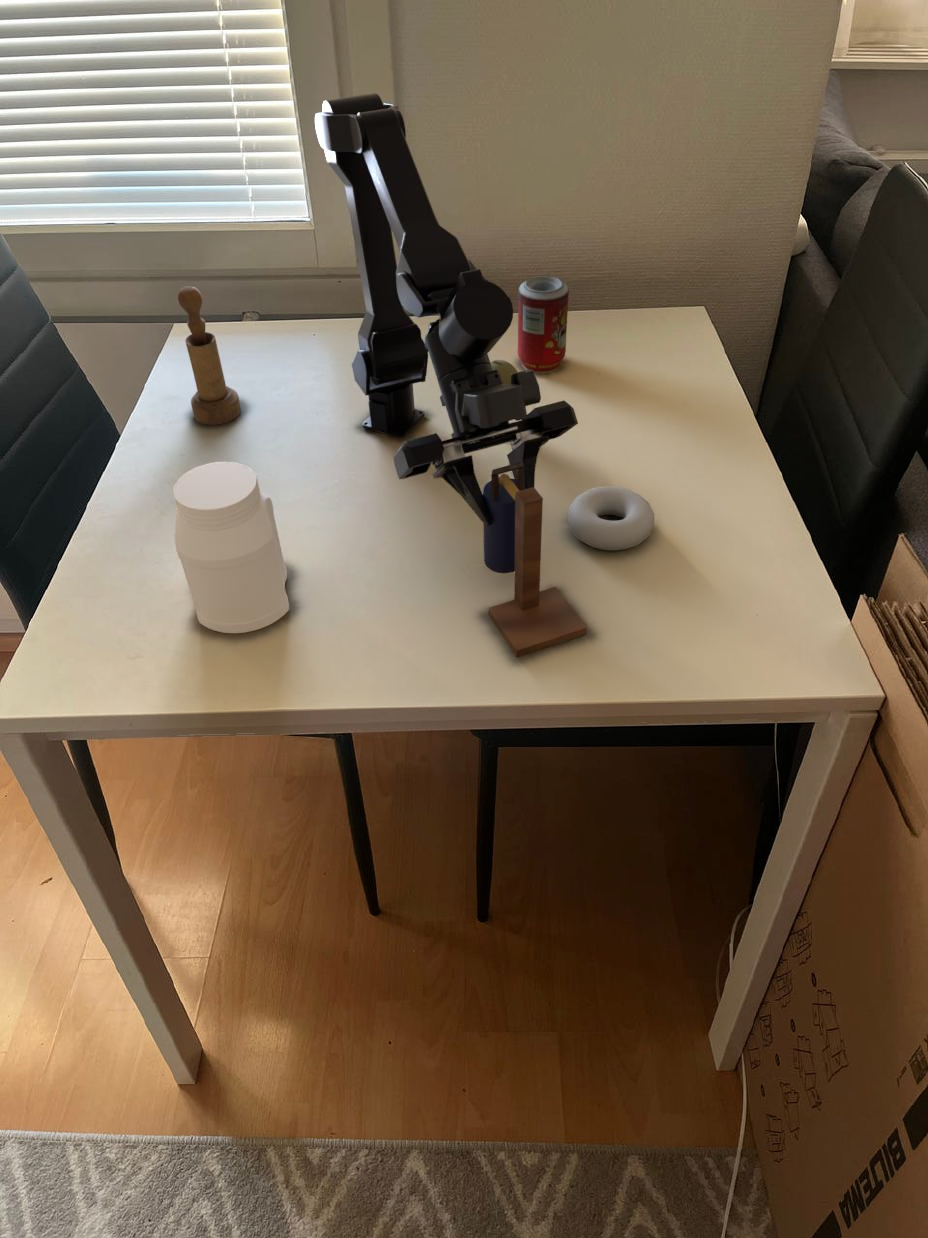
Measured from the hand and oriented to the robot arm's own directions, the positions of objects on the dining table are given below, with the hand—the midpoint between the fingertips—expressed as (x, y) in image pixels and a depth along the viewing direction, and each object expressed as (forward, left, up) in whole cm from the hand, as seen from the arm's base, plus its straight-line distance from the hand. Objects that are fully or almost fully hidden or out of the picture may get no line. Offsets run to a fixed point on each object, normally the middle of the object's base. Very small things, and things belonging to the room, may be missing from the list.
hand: (509, 519), depth 95 cm
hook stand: (+3, +3, -9) cm, 10 cm away
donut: (-14, +7, -9) cm, 18 cm away
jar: (+14, -25, -9) cm, 31 cm away
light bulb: (-28, -14, -9) cm, 33 cm away
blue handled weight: (-1, -1, -7) cm, 7 cm away
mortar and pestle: (-16, -52, -9) cm, 56 cm away
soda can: (-47, -16, -9) cm, 51 cm away
